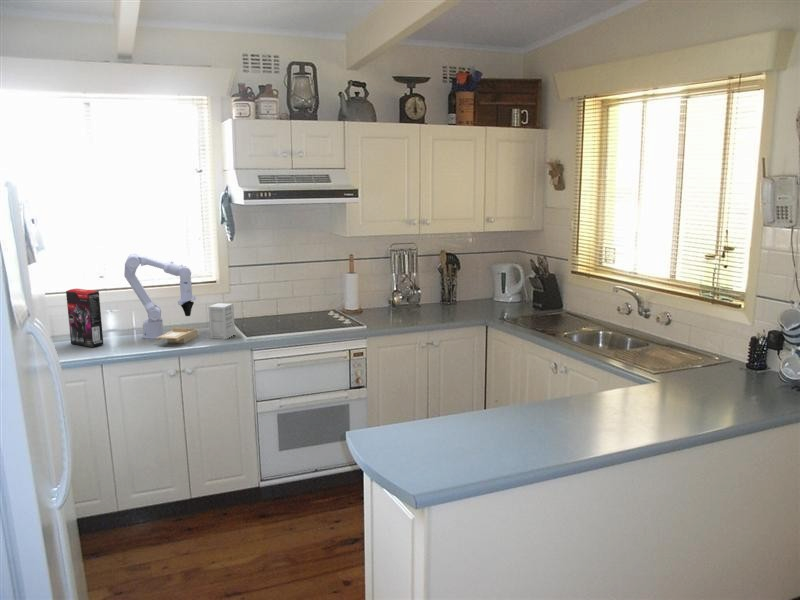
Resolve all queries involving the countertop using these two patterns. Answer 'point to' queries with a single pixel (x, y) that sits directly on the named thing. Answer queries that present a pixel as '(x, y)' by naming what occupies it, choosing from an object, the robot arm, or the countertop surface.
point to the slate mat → (189, 343)
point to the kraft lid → (176, 334)
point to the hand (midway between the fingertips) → (187, 315)
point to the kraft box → (185, 339)
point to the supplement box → (221, 320)
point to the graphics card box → (84, 317)
